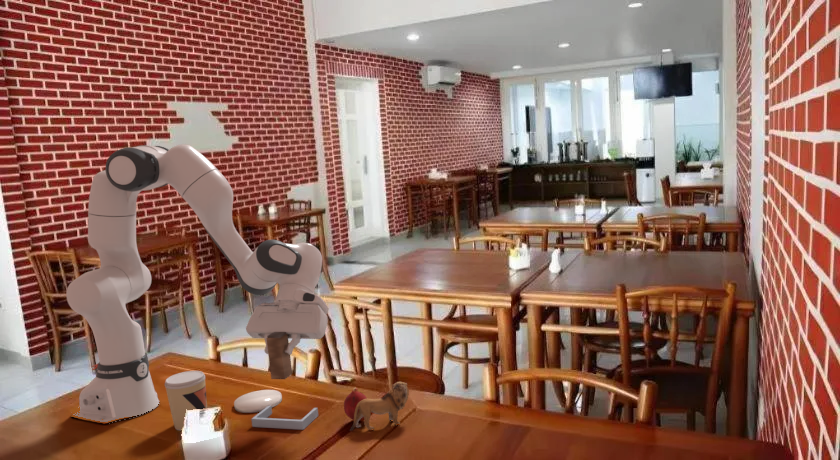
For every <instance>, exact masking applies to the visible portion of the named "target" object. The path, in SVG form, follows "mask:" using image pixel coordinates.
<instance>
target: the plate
mask: <svg viewBox="0 0 840 460" xmlns="http://www.w3.org/2000/svg"><path fill="white" fill-rule="evenodd" d="M282 400H283V395H282V393H281V392H280V391H279V390H275V389H261V390H256V391H255V390H254V391H251V392H248V393H245V394H242V395H240V396H238V397H237V398H236V399H235V400H234V401H233V405H234V409H235V411H237V412H239V413H244V414H245V413H246V414H248V413H250V414H251V413H258V412H259V413H260V412H261V411H262V410H263V409H265V408H266V407H267V406H271V408H275V407H276V406H278V405H279V404H280V403H281V402H282Z"/></svg>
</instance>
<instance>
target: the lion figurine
mask: <svg viewBox="0 0 840 460" xmlns="http://www.w3.org/2000/svg"><path fill="white" fill-rule="evenodd" d="M409 393H410V391H409V388H408V383H407V382H403V381H396V382H395V383H394V384H392V388H391V389H389V391H388V392H386V393H385V395H384V396H382V397H380V398H367V399H364V400H362V401H360V402H359V403H358V404H357V406H356V409H355V414H354V420H353V424H352V425H351V427H350V429H349V431H350V432H351V431H354V430H355V428H361V427H362V423H359V422H360V421H361V420H362V419H364V423H363V424H364V426H365V427H366V428H367V430H368V431H369V430H372V429H374V430H375V427H374V426H371V425H370V419H371V416H372V415H371V414H372V413H373V414H375V415H379V416H380V415H385V414H388V420H389V421H390V420H393V422H392V423H393V424H394V423H395V424H400V425H401V422H400V421H398V416H399V415H398V413H399V412H398V411H400V410H403V409H404V408H405V405H406V403H407V402H408V400H409V396H410V395H409ZM358 409H359V413H358ZM357 413H358V415H357ZM362 417H363V418H362ZM361 418H362V419H361ZM360 419H361V420H360ZM359 420H360V421H359ZM395 424H394V425H395Z"/></svg>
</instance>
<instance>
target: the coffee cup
mask: <svg viewBox="0 0 840 460" xmlns="http://www.w3.org/2000/svg"><path fill="white" fill-rule="evenodd" d="M206 386H207V385H206V375H205V373H204V372H203V371H200V370H187V371H183V372H179V373H175V374H172V375H170V376H168V377H167V378H166V379H165V382H164V387H165V391H166V394H167V395H166V396H167V400H168V404H169V408H170V414H171V417H172V422H173V426H174V428H175V430H176V431H181V429H182V427H183V421H184V417H185V413H186V409H187V410H193V409H203V408H207V409H208V402H207V401H208V400H207V387H206Z"/></svg>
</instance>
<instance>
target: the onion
mask: <svg viewBox="0 0 840 460" xmlns="http://www.w3.org/2000/svg"><path fill="white" fill-rule="evenodd" d="M364 399H368V397H367V396H366V395H365V394H364V393H363V392H360V391H359V390H358V388H357V387H353V389H351V392H350V393H349V394H348V395H347V396H346V398H345V400H344V403H343V411H344V413H345V414H346V416H347V417H348V418H349V419H350V420H353V421H354V414H355V409H356V406H357V404H358V403H359V402H360V401H362V400H364ZM358 413H359V409H358ZM358 413H357V415H358ZM362 419H364V417H362V418H361V419H360V420H359V422H360V421H361V420H362Z"/></svg>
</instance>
